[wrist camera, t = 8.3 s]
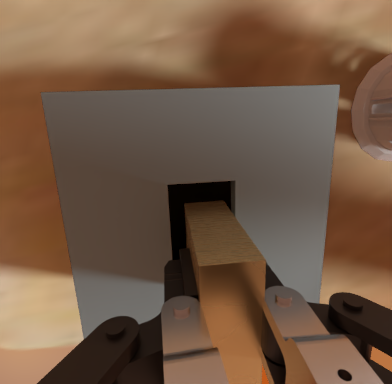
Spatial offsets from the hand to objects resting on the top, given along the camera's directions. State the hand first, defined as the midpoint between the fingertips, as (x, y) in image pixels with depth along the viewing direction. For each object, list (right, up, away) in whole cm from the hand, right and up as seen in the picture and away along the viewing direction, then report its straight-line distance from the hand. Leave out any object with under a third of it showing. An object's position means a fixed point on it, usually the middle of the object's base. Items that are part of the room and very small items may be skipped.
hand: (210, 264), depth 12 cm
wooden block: (0, 0, +2) cm, 2 cm away
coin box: (-1, +3, +12) cm, 12 cm away
